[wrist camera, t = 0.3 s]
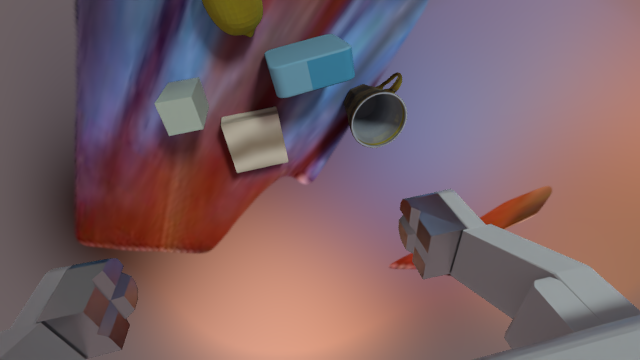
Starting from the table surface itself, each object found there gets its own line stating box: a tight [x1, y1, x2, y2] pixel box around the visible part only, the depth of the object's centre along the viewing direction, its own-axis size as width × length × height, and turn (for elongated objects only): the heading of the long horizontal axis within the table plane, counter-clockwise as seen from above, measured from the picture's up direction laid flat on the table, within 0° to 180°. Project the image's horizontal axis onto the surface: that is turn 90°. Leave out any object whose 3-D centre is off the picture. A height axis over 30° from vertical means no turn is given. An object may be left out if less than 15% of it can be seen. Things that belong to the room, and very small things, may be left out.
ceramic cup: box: [344, 73, 407, 148], centre depth 54 cm, size 13×10×10 cm
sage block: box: [155, 77, 209, 136], centre depth 47 cm, size 5×5×10 cm
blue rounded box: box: [264, 34, 355, 98], centre depth 47 cm, size 12×4×12 cm, turn 102°
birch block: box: [221, 107, 288, 173], centre depth 57 cm, size 10×10×4 cm
